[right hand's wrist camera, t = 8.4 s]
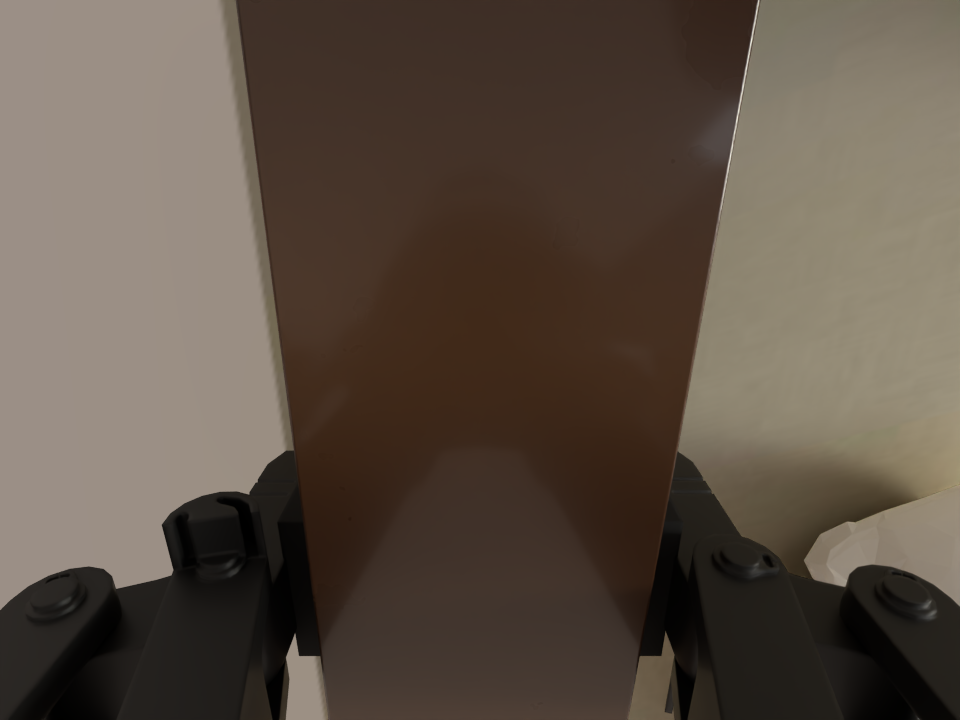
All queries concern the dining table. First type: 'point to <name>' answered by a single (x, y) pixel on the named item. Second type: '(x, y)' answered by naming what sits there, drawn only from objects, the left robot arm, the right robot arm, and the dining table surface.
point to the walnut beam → (489, 327)
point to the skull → (897, 543)
